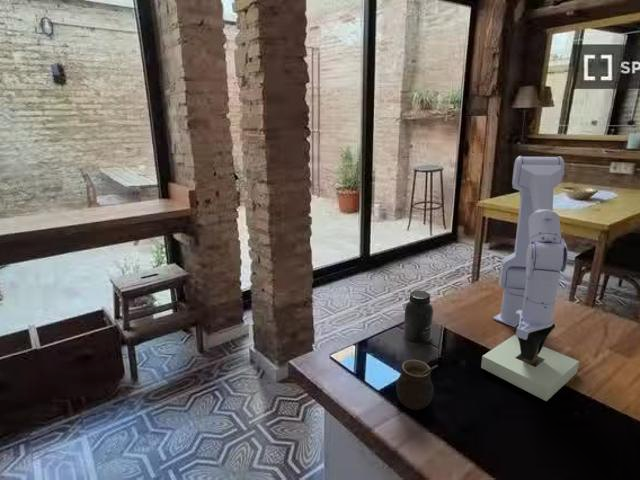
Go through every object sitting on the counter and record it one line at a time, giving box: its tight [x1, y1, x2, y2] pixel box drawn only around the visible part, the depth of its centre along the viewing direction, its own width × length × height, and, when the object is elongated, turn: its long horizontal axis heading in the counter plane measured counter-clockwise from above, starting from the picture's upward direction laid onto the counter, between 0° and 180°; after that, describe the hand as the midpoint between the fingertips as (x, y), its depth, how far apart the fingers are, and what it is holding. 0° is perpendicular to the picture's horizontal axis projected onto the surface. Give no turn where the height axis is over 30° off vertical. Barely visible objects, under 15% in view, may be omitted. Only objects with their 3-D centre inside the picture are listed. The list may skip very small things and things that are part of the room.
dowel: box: [521, 346, 539, 367], centre depth 86 cm, size 3×3×7 cm
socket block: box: [480, 334, 580, 402], centre depth 87 cm, size 14×14×3 cm
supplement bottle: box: [403, 290, 434, 345], centre depth 99 cm, size 7×7×12 cm
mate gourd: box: [395, 359, 439, 411], centre depth 77 cm, size 7×8×10 cm
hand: (530, 355), depth 86 cm, fingers closed on dowel, 3 cm apart
